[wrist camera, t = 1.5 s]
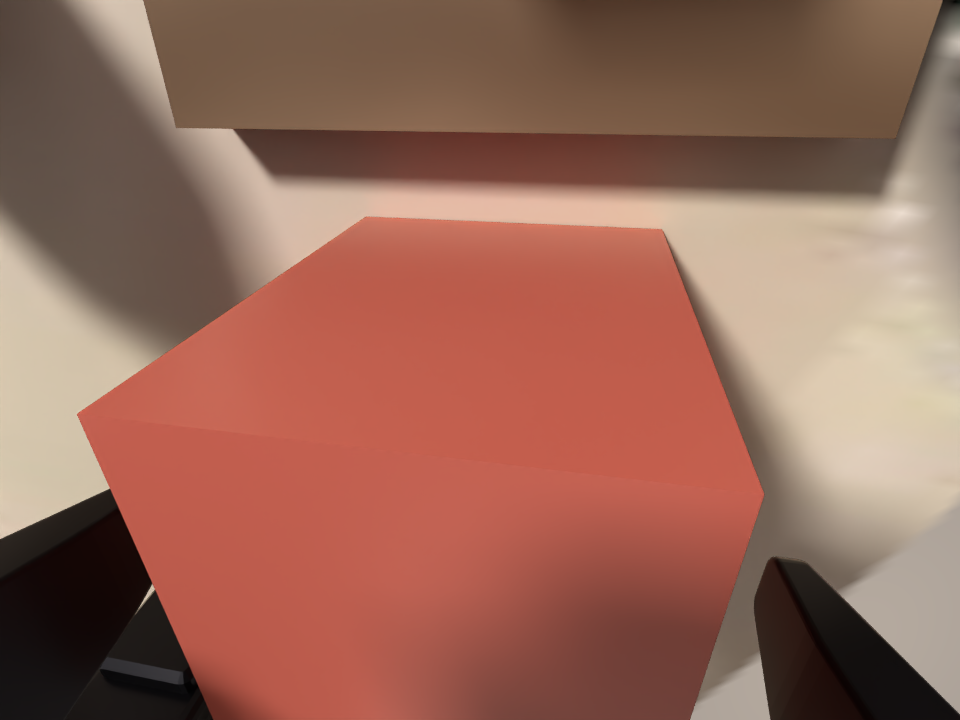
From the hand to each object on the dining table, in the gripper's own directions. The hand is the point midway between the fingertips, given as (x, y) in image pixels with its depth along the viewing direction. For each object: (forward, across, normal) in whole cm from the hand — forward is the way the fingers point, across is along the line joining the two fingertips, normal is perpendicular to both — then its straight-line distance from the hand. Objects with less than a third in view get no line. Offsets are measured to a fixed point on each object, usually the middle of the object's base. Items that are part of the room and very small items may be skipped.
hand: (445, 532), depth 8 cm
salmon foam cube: (+6, 0, 0) cm, 6 cm away
